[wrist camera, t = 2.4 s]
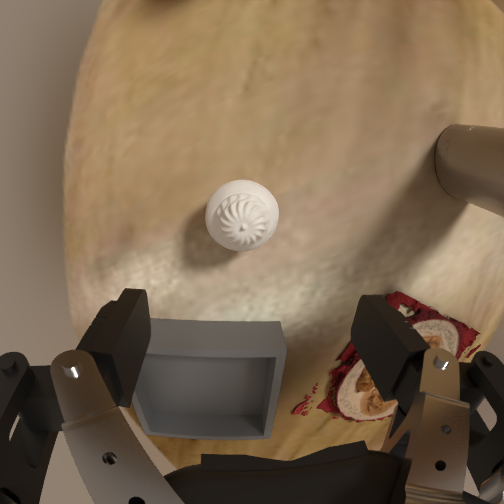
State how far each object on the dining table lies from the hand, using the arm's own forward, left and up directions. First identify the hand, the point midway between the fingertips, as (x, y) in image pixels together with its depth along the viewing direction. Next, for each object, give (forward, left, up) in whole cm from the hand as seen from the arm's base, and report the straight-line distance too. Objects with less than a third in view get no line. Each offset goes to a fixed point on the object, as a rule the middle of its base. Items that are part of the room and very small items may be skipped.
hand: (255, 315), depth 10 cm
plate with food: (-26, +25, -19) cm, 41 cm away
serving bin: (+4, +22, -18) cm, 29 cm away
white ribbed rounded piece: (0, 0, -18) cm, 18 cm away
